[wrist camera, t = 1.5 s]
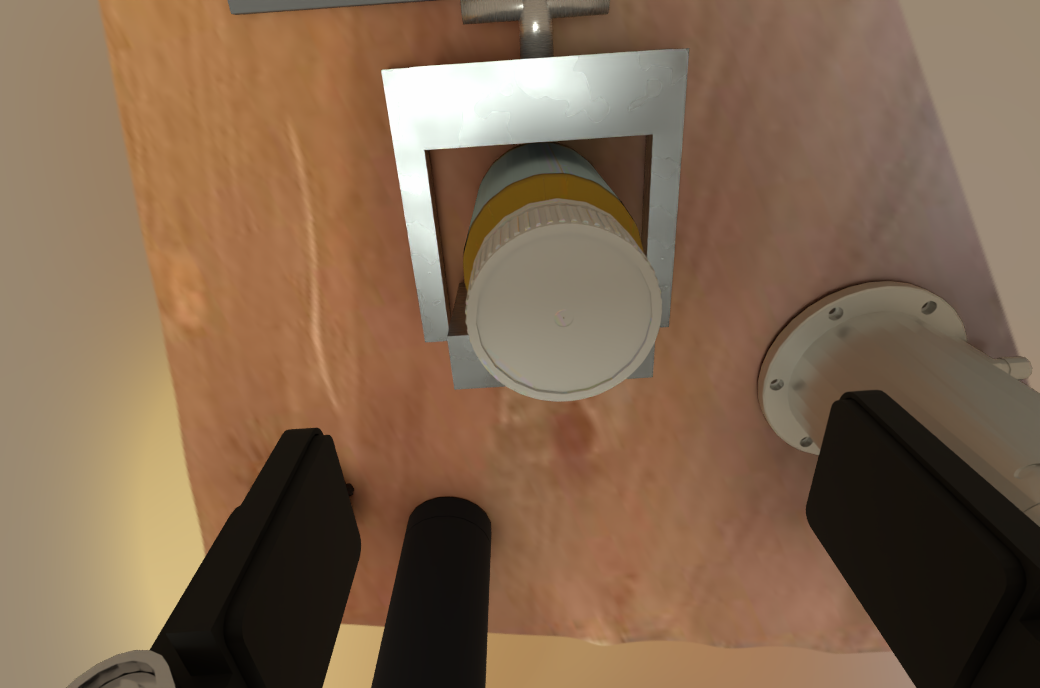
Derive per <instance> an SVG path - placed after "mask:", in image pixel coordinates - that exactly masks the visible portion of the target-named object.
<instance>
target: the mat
mask: <svg viewBox="0 0 1040 688" xmlns="http://www.w3.org/2000/svg"><path fill="white" fill-rule="evenodd" d="M420 1H434V0H228V4H229V7H230V11H231V14H235V15H239V14H253V13H267V12H281V11H295V10H309V9H323V8H336V7H350V6H364V5H378V4H392V3H406V2H420Z"/></svg>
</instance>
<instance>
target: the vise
mask: <svg viewBox="0 0 1040 688" xmlns="http://www.w3.org/2000/svg"><path fill="white" fill-rule="evenodd" d="M609 2H610V0H461V11H462V20H463V24H478V23H492V22H506V21H519V37H520V55H521V60H507V61H492V62H478V63H464V64H450V65H435V66H421V67H409V68H402V69H388V70H381V71H382V78H383V84H384V90H385V96H386V102H387V109H388V115H389V121H390V127H391V133H392V139H393V146H394V152H395V158H396V164H397V170H398V177H399V183H400V189H401V195H402V201H403V207H404V214H405V220H406V226H407V232H408V238H409V245H410V251H411V257H412V263H413V269H414V275H415V282H416V288H417V294H418V300H419V306H420V313H421V319H422V325H423V331H424V337H425V342H438V341H448V346H449V354H450V361H451V368H452V375H453V382H454V389H470V388H487V387H503V386H505V385H504V384H502V383H501V382H499V381H498V380H497V379H496V378H494V377H493V376H492V375H491V374H490V373H489V372H488V371H487V369H486V368H485V367H484V366H483V364H482V363H481V361H480V360H479V358H478V357H477V355H476V353H475V351H474V349H473V347H472V344H471V342H470V338H469V334H468V333H467V325H466V322H465V320H466V314H465V308H466V298H467V289H466V286H465V283H462V284H459V287H458V291H457V296H456V300H455V304H454V309H453V313H452V317H451V313H450V306H449V298H448V291H447V283H446V276H445V268H444V261H443V253H442V246H441V238H440V231H439V223H438V216H437V208H436V201H435V193H434V186H433V178H432V171H431V163H430V156H429V150H431V149H445V148H460V147H475V146H489V145H504V144H519V143H534V142H548V141H563V140H578V139H592V138H607V137H622V136H636V135H646V149H645V172H644V195H643V218H642V241H641V243H642V247H643V253H644V255H645V256H646V257H647V259H648V260H649V262H650V263H651V266H652V268H653V269H654V271H655V276H656V278H657V279H658V281H659V285H658V286H659V288H660V290H661V299H662V314H661V323H660V327H669V318H670V305H671V291H672V277H673V264H674V250H675V236H676V222H677V209H678V195H679V181H680V168H681V154H682V140H683V127H684V113H685V99H686V86H687V72H688V58H689V48H687V49H663V50H649V51H635V52H620V53H606V54H592V55H578V56H563V57H553V29H552V18H563V17H577V16H591V15H605V14H608V12H609ZM654 348H655V342H654V344H653V347H652V348H651V350H650V352H649V354H648V355H647V357H646V358H645V360H644V361H643V362H642V363H641V365H640V366H639V367H638V368H637V369H636V370H635V371H634V372H633V373H632V374H631V375H630V376H629V377H627V378H626V379H632V378H648V377H653V365H654Z"/></svg>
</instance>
